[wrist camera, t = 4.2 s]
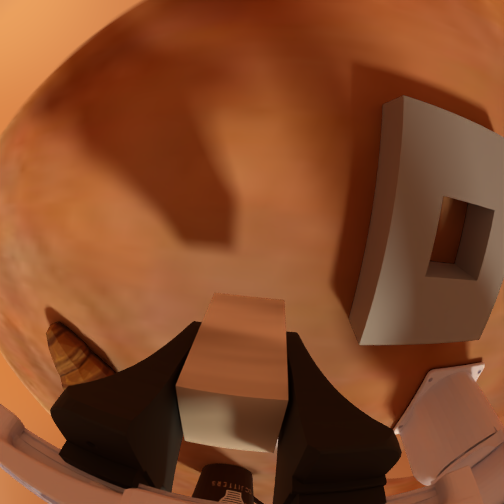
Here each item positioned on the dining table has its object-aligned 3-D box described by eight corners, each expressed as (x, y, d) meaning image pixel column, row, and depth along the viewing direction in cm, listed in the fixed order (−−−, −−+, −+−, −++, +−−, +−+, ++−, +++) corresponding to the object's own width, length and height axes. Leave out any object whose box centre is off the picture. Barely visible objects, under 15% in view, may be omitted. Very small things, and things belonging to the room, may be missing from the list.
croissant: (44, 329, 22) (16, 356, 17) (73, 305, 20) (39, 336, 15) (128, 419, 25) (112, 451, 20) (168, 411, 23) (153, 449, 19)
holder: (461, 319, 17) (478, 339, 15) (348, 318, 18) (359, 344, 15) (499, 148, 13) (526, 150, 10) (382, 104, 13) (403, 95, 10)
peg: (275, 353, 14) (273, 452, 8) (213, 346, 14) (184, 440, 8) (284, 300, 13) (288, 400, 7) (214, 292, 13) (175, 385, 7)
